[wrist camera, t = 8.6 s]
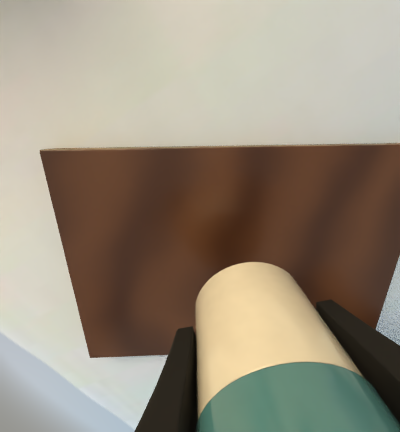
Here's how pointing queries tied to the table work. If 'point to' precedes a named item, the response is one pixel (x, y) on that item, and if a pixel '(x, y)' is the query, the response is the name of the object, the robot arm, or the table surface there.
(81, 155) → the walnut board
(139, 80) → the table surface
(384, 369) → the robot arm
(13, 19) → the table surface
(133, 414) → the table surface
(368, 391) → the cream jar
